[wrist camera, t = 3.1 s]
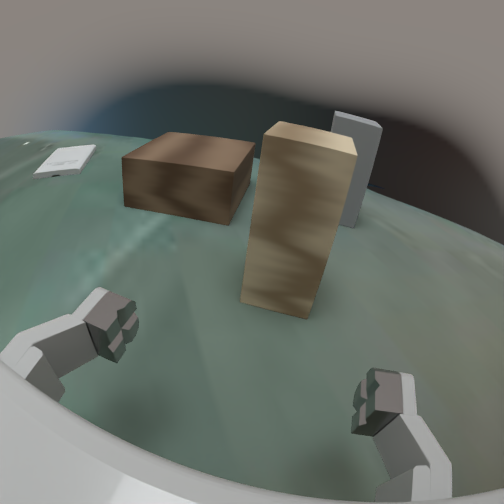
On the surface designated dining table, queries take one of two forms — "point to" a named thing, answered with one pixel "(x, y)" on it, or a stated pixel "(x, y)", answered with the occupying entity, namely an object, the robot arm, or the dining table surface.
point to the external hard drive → (65, 161)
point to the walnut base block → (188, 176)
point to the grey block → (366, 148)
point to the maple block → (295, 215)
